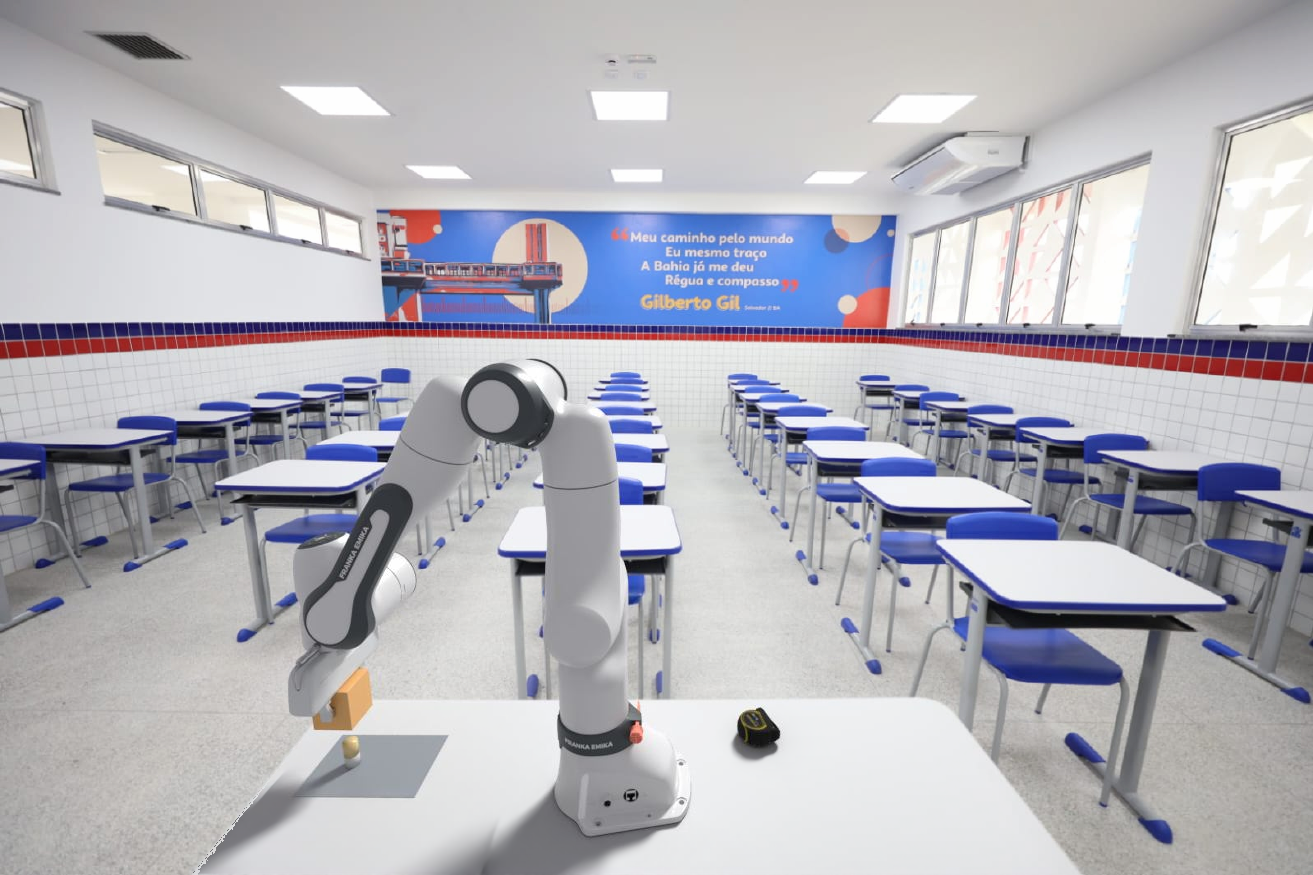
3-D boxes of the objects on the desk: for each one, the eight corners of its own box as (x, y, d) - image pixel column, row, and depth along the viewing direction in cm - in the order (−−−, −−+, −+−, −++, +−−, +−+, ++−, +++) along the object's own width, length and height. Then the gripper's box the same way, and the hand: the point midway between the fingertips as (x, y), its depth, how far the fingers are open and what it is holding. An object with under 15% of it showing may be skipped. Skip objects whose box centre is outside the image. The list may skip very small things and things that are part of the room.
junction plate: (449, 742, 104) (446, 713, 103) (415, 805, 90) (411, 772, 89) (343, 741, 105) (339, 713, 104) (293, 804, 91) (288, 772, 90)
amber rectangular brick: (372, 704, 99) (368, 668, 97) (352, 730, 93) (347, 692, 91) (336, 704, 99) (332, 668, 98) (313, 729, 93) (308, 691, 91)
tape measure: (781, 745, 102) (782, 727, 101) (747, 754, 100) (747, 736, 99) (763, 720, 108) (763, 703, 108) (731, 729, 106) (731, 711, 105)
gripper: (312, 666, 82) (323, 749, 85) (383, 599, 102) (390, 668, 105) (269, 666, 82) (282, 748, 85) (348, 599, 103) (357, 667, 105)
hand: (342, 703), depth 95 cm, fingers closed on amber rectangular brick, 6 cm apart
